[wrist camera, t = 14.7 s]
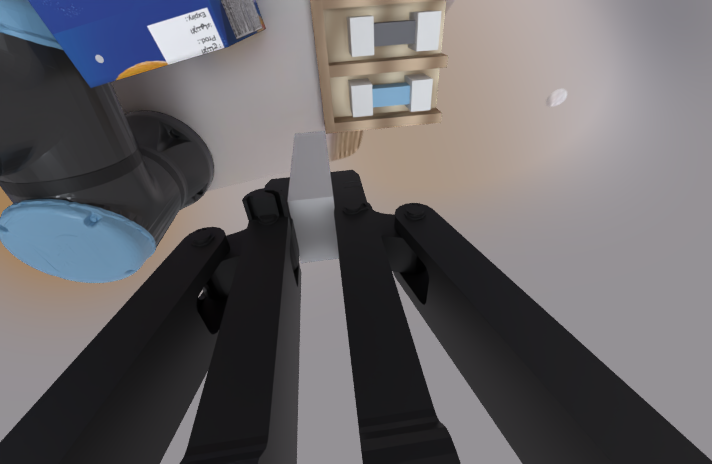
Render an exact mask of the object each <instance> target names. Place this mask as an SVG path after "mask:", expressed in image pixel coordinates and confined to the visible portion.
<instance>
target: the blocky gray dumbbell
mask: <svg viewBox="0 0 712 464" xmlns="http://www.w3.org/2000/svg"><path fill="white" fill-rule="evenodd" d="M441 12H442V11H431V10H430V11H417V12H409V20H402V21H389V22H377V23H374V16H370V15H365V16H351V17H347V30H348V46H349V53H350V55H351V56H352V57H357V56H369V55H374V47H377V46H389V45H401V44H408V48H410V49H412V50H414V51H416V52H417V51H429V50H438V46H439V34H440V23H441Z"/></svg>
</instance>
